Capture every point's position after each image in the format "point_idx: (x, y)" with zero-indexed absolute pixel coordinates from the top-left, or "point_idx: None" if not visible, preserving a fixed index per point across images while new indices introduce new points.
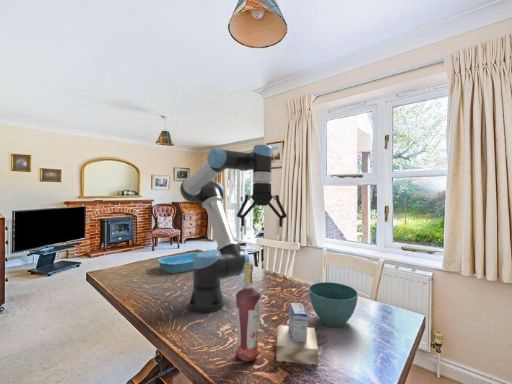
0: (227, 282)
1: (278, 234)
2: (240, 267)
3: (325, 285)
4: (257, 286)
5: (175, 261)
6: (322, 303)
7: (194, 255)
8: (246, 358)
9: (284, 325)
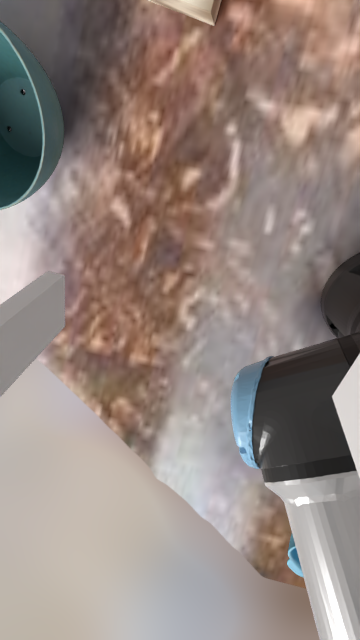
0: None
1: (50, 277)
2: (277, 362)
3: None
4: (192, 380)
5: None
6: (17, 38)
7: None
8: None
9: (190, 3)
